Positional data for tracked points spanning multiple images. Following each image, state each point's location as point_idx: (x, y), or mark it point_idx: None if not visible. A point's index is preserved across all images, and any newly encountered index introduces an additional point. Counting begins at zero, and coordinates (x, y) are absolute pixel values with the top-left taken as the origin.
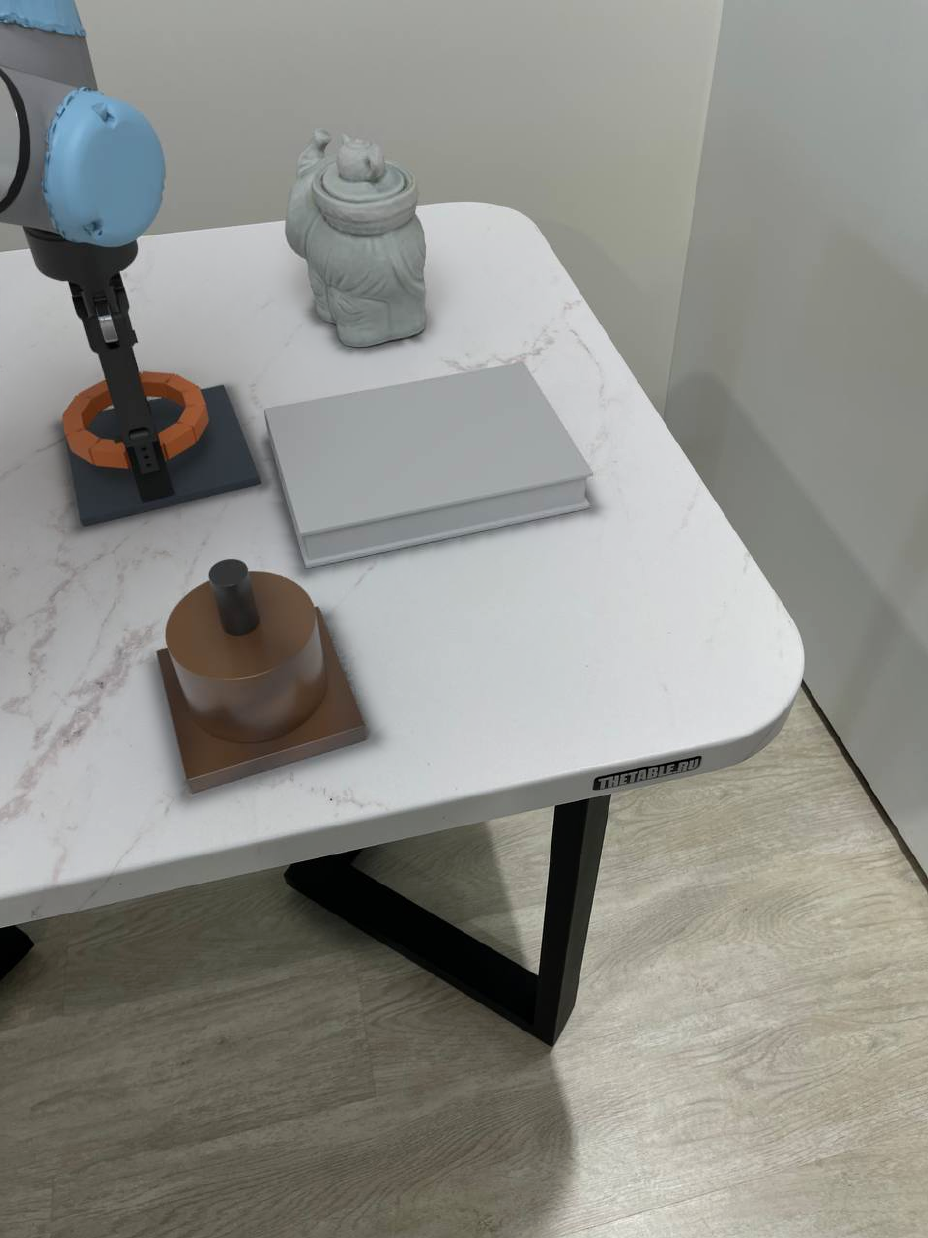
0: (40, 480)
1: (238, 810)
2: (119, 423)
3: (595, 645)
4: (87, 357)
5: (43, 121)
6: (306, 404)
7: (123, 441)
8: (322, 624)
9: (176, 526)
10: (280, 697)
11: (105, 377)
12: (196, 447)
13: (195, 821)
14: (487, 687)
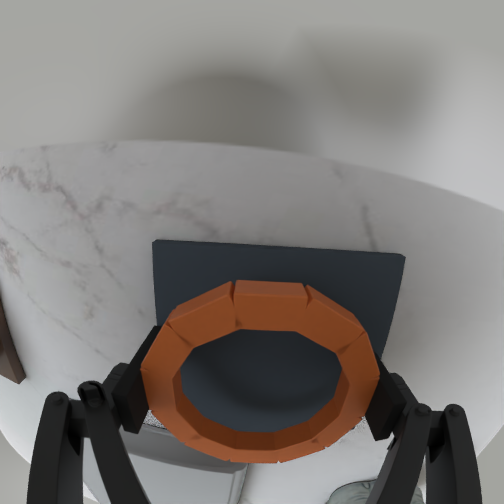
0: (291, 197)
1: None
2: (40, 421)
3: (30, 444)
4: (490, 298)
5: None
6: (223, 491)
7: (51, 397)
8: (7, 377)
9: (126, 338)
10: None
11: (29, 487)
12: (250, 398)
13: None
14: (3, 404)
